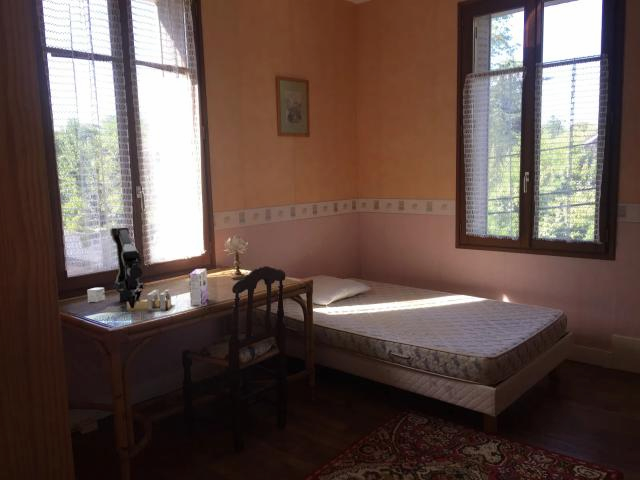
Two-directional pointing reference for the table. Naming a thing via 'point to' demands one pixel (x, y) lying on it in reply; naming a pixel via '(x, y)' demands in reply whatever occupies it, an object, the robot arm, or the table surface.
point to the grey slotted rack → (149, 302)
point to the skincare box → (96, 294)
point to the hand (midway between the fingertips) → (134, 307)
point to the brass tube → (143, 305)
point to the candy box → (198, 287)
